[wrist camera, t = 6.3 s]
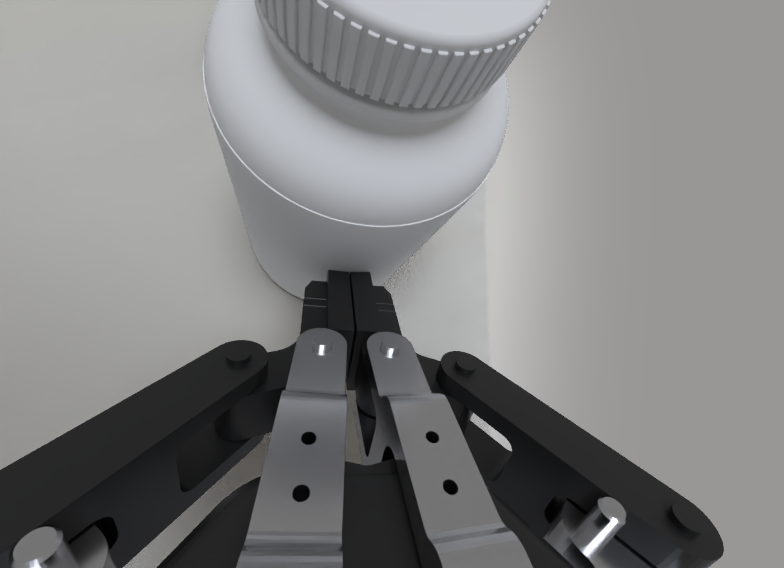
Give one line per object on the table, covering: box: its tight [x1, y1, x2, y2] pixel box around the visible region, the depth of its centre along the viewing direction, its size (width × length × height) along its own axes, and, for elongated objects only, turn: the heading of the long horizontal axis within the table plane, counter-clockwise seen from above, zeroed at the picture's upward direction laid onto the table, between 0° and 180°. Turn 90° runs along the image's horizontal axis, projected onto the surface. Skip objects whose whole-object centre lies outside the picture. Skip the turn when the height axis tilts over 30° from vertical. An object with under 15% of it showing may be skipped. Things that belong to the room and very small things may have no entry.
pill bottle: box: [203, 0, 551, 299], centre depth 13 cm, size 8×8×15 cm
